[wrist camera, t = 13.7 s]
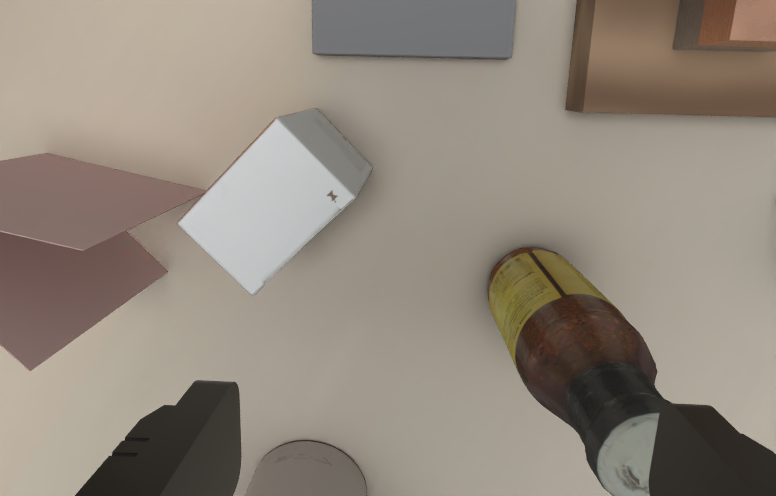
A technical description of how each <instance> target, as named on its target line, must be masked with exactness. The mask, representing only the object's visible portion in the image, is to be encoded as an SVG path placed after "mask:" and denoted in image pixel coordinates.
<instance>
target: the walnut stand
mask: <svg viewBox="0 0 776 496" xmlns="http://www.w3.org/2000/svg"><path fill="white" fill-rule="evenodd" d="M679 3H680V0H577V6H576V16H575V25H574V34H573V44H572V53H571V63H570V72H569V82H568V91H567V101H566V110H571V111H578V112H599V113H637V114H676V115H714V116H753V117H776V51H771V52H741V51H707V50H673V49H672V47H673V41H674V34H675V28H676V22H677V15H678V9H679Z"/></svg>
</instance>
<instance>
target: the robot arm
mask: <svg viewBox="0 0 776 496" xmlns="http://www.w3.org/2000/svg"><path fill="white" fill-rule="evenodd" d="M240 467H241V429H240V398H239V388H238V385H237V383H236V382H223V381H202V380H196V381H195V382H194V383H193V384H192V385H191V386H190V388H189V389H188V390H187V392H186V393H185V394H184V395H183V397H182V398H181V399H180V400H179V402H178V403H177V404H176V406H172V405H164V406H162V407H160V408H159V409H157V410H155V411H154V412H152V413H150V414H149V415H147V416H145V417H144V418H142V419H140V421H139V422H138V423H137V424H136V425H135V426H134V428H133V429H132V430H131V431H130V432H129V433H128V435H127V436H126V437H125V441H122V442H121V443H120V444H119V445H118V446H117V447H116V449H115V450H114V451H113V452H112V456H109V457H108V458H107V459H106V460H105V461H104V462H103V464H102V465H101V466H100V467H99V468H98V469H97V471H96V472H95V473H94V474H93V475H92V476H91V478H90V479H89V480H88V481H87V482H86V483H85V485H84V486H83V487H82V488H81V489H80V490H79V492H78V493H77V494H76V495H75V496H233V494H234V492H235V489H236V486H237V483H238V479H239V474H240ZM649 494H650V496H776V454H775V453H774V452H773V451H771V450H769V449H767V448H766V447H764V446H762V445H761V444H759V443H757V442H756V441H754V440H752V439H751V438H749V437H747V436H745V435H744V434H740V433H739V432H738V431H737V430H736V429H735V428H734V427H733V426H732V425H731V424H730V423H729V422H728V421H727V420H726V419H725V418H723V417H722V416H721V415H720V414H719V413H718V412H717V411H716V410H715V409H714V408H713V407H711V406H709V405H694V404H672V403H667V404H665V405H664V406H663V407H662V409H661V411H660V414H659V418H658V424H657V430H656V436H655V442H654V448H653V454H652V460H651V466H650V472H649ZM245 496H367V489H366V484H365V480H364V478H363V476H362V473H361V471H360V469H359V468H358V467H357V466H356V464H355V463H354V462H353V461H352V460H351V459H350V458H349V457H348V456H347V455H345V454H344V453H343V452H341V451H339V450H337V449H336V448H334V447H332V446H329V445H326V444H323V443H318V442H311V441H299V442H292V443H288V444H284V445H282V446H280V447H278V448H276V449H274V450H273V451H271V452H270V453H269V454H267V455H266V456H265V457H264V458H263V460H262V461H261V462H260V463H259V465H258V467H257V469H256V471H255V473H254V476H253V478H252V480H251V482H250V485H249V487H248V489H247V492H246V494H245Z"/></svg>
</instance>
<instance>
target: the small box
mask: <svg viewBox="0 0 776 496" xmlns="http://www.w3.org/2000/svg"><path fill="white" fill-rule="evenodd" d="M372 169H373V167H372V166H371V165H370V164H369V163H368V162H367V161H366V160H365V159H364V158H363V157H362V156H361V155H360V154H359V153H358V152H357V151H356V149H355V148H354V147H353V146H352V145H351V144H350V143H349V142H348V141H347V140H346V139H345V138H344V137H343V136H342V135H341V134H340V133H339V132H338V131H337V129H336V128H335V127H334V126H333V125H332V124H331V123H330V122H329V121H328V120H327V119H326V118H325V117H324V116H323V115H322V114H321V113H320V112H319V111H318V110H317V109H316V108H314V109H310V110H306V111H302V112H297V113H293V114H289V115H285V116H281V117H277V118H275V119H274V120H273V121H272V122H271V123H270V124H269V125H268V126H267V127H266V128H265V130H264V131H263V132H262V133H261V134H260V135H259V136H258V137H257V138H256V139H255V140H254V141H253V142H252V143H251V144H250V145H249V146H248V148H247V149H246V150H245V151H244V152H243V153H242V154H241V155H240V156H239V157H238V158H237V159H236V160H235V161H234V162H233V163H232V164H231V166H230V167H229V168H228V169H227V170H226V171H225V172H224V173H223V174H222V175H221V176H220V177H219V178H218V179H217V180H216V181H215V183H214V184H213V185H212V186H211V187H210V188H209V189H208V190H207V191H206V192H205V193H204V194H203V195H202V196H201V197H200V199H199V200H198V201H197V202H196V203H195V204H194V205H193V206H192V207H191V208H190V209H189V210H188V211H187V212H186V213H185V214H184V216H183V217H182V218H181V219H180V220H179V221H178V222H177V224H178V225H179V226H180V227H181V228H182V229H183V230H184V231H185V232H186V233H187V234H188V235H189V236H190V237H191V238H192V239H193V240H195V241H196V242H197V243H198V244H199V245H200V246H201V247H202V248H203V249H204V250H205V251H206V252H207V253H208V254H209V255H210V256H211V257H212V258H213V259H214V260H215V261H216V262H217V263H218V264H219V265H220V266H221V267H222V268H224V269H225V270H226V271H227V272H228V273H229V274H230V275H231V276H232V277H233V278H234V279H235V280H236V281H237V282H238V283H239V284H240V285H241V286H242V287H243V288H244V289H245V290H246V291H247V292H248V293H249V294H250V295H256V294H257V293H258V292H259V291H260V289H261V288H262V287H263V286H264V285H265V284H266V283H267V282H268V281H269V280H270V279H271V278H272V277H273V276H274V275H275V274H276V273H277V272H278V271H279V270H280V269H281V268H282V267H283V266H284V265H285V264H286V263H287V262H288V261H289V260H290V259H291V258H292V257H293V256H294V255H295V254H296V253H297V252H298V251H299V250H301V249H302V248H303V247H304V246H305V245H306V244H307V243H308V242H309V241H310V240H311V239H312V238H313V237H314V236H315V235H316V234H317V233H318V232H319V231H320V230H321V229H323V228H324V227H325V226H326V225H327V224H328V223H329V222H330V221H331V220H332V219H333V218H334V217H336V216H337V215H338V214H339V213H340V212H341V211H342V210H344V209H345V208H346V207H347V206H348V205H349V204H350V203H352V202H353V201H354V200H355V199H356V197H357V195H358V194H359V192H360V190H361V188H362V187H363V185H364V183H365V182H366V180H367V178H368V176H369V175H370V173H371V171H372Z"/></svg>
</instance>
